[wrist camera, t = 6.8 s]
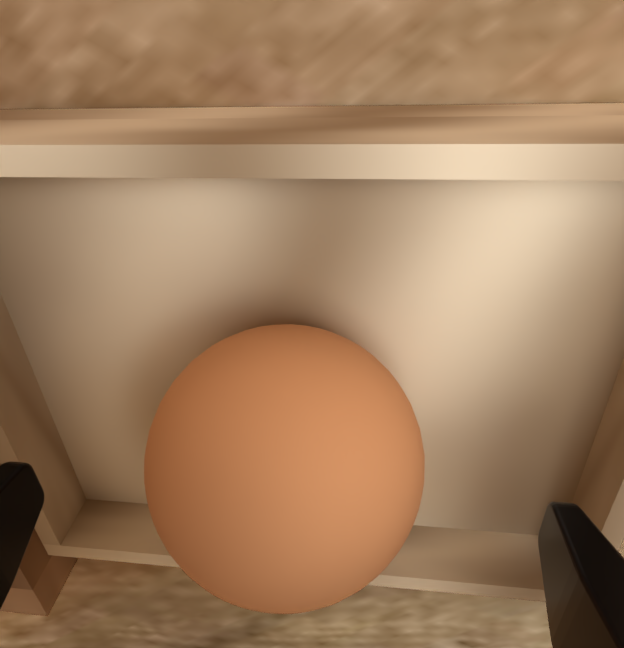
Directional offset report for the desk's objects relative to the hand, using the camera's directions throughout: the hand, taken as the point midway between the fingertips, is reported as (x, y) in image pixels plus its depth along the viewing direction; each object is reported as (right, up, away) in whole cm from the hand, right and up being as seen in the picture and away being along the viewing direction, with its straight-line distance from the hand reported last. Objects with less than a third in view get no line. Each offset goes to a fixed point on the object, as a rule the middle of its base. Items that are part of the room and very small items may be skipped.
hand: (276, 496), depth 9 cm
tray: (0, +2, +3) cm, 4 cm away
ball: (0, +2, +3) cm, 3 cm away
